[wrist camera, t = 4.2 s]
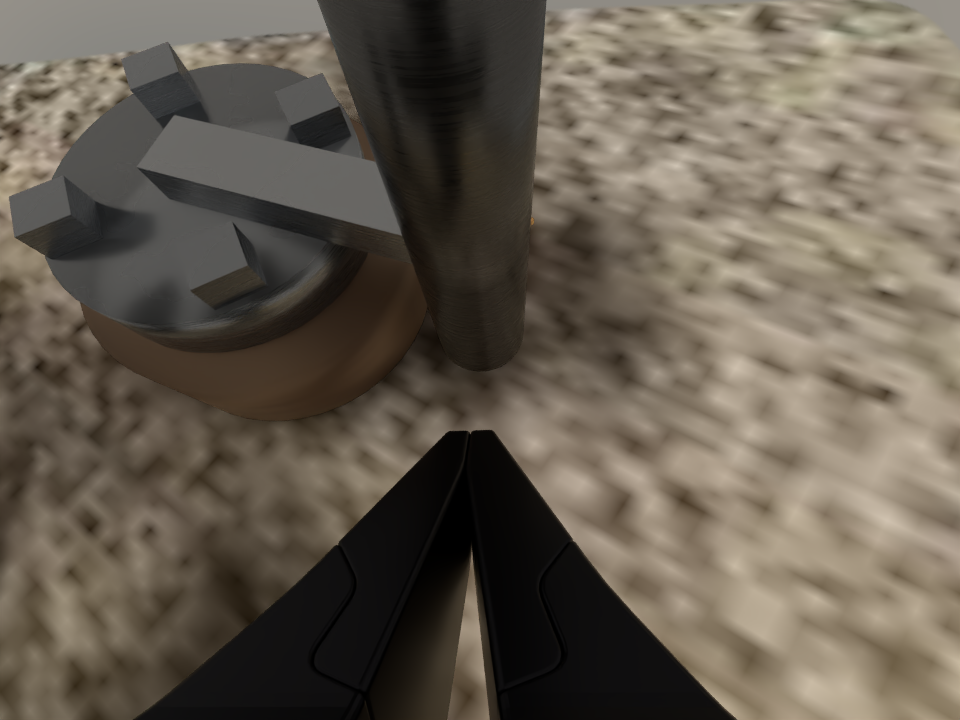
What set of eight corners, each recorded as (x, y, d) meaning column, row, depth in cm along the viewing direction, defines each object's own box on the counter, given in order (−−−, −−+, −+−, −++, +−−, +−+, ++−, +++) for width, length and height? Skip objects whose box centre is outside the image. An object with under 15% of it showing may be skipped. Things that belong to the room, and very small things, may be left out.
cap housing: (252, 484, 16) (175, 470, 12) (118, 283, 20) (26, 224, 16) (553, 240, 19) (564, 168, 15) (391, 100, 22) (368, 12, 19)
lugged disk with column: (125, 346, 17) (-1523, -457, 3) (242, 163, 20) (-374, -690, 6) (480, 465, 15) (56, -522, 1) (555, 239, 18) (729, -850, 4)
